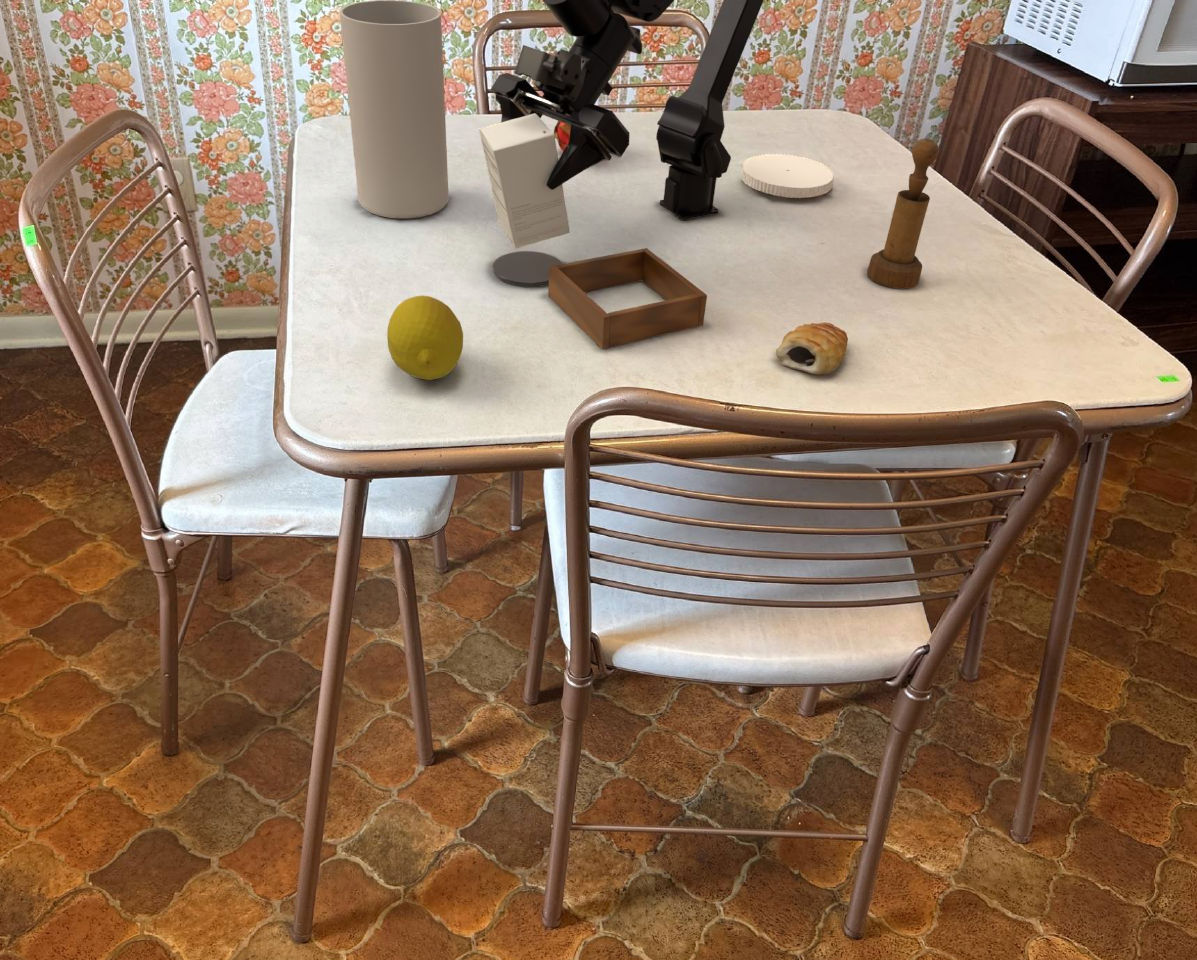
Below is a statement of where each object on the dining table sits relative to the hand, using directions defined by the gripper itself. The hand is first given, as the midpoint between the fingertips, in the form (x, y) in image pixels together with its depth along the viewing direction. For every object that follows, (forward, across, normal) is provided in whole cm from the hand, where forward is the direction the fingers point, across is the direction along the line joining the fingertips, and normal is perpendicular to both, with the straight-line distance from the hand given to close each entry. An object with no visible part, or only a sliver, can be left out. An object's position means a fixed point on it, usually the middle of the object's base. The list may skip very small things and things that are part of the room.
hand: (522, 175), depth 116 cm
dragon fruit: (-15, -24, +34) cm, 44 cm away
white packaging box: (+4, 0, +6) cm, 7 cm away
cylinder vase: (+8, -27, +10) cm, 30 cm away
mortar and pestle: (-16, +32, +35) cm, 50 cm away
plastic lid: (-27, +4, +46) cm, 53 cm away
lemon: (+25, +10, -7) cm, 28 cm away
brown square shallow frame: (+7, +15, +11) cm, 20 cm away
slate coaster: (+8, 0, +10) cm, 13 cm away
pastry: (+1, +36, +17) cm, 40 cm away
